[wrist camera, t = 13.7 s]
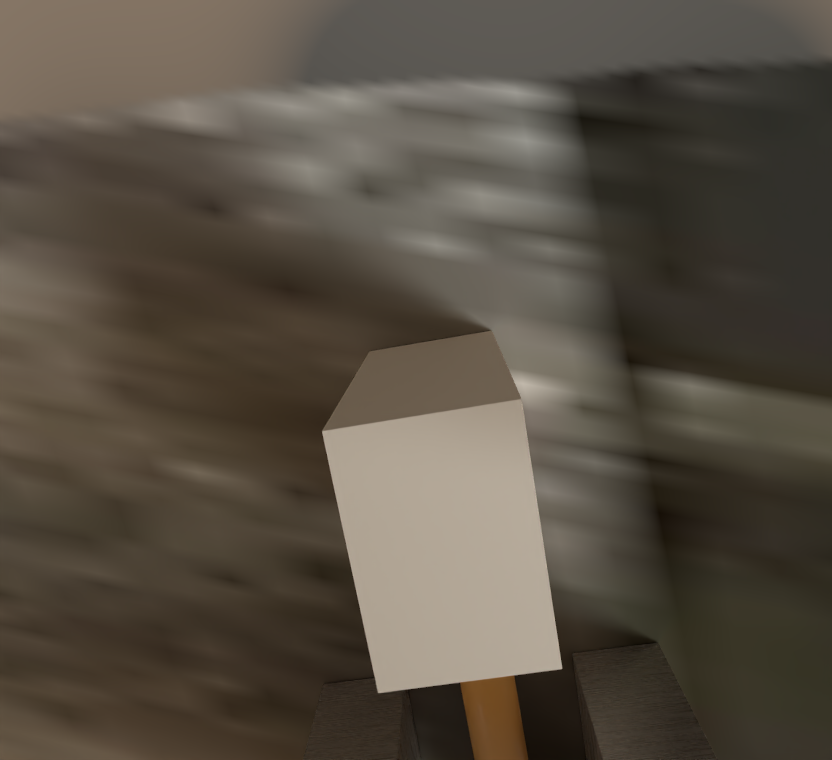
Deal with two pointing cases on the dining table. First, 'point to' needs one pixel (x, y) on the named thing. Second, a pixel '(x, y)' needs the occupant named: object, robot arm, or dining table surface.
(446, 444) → the white and wooden mallet
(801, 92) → the dining table surface
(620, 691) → the housing
